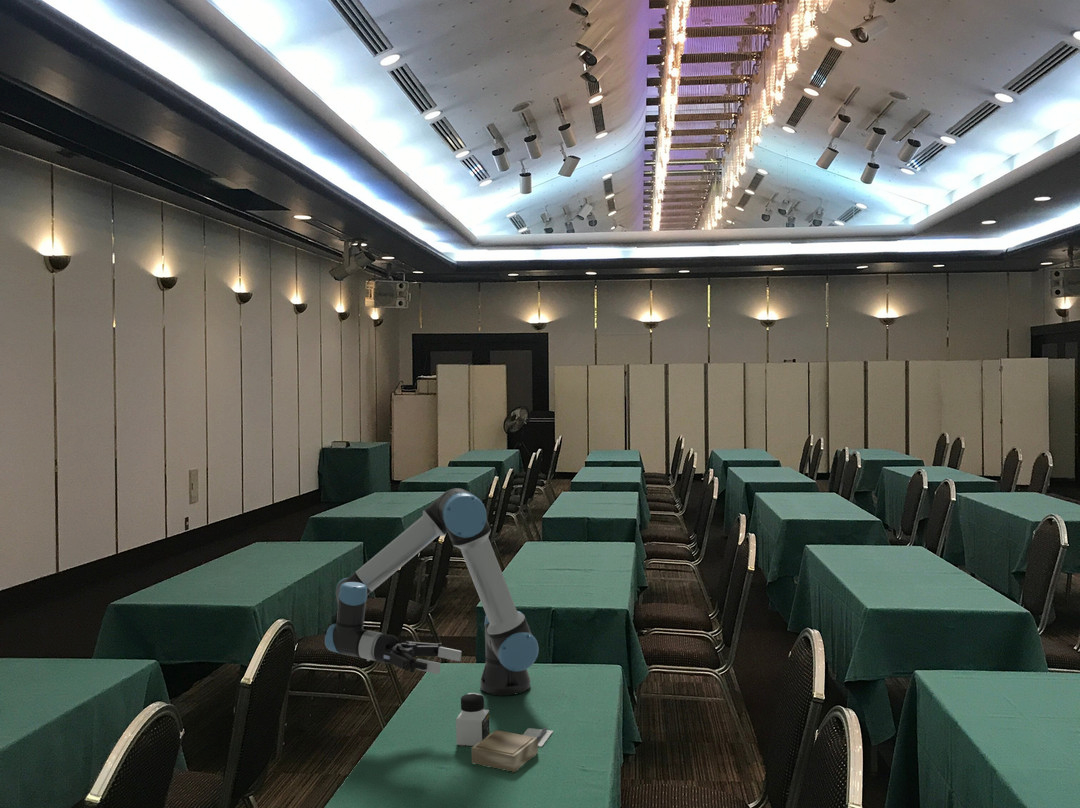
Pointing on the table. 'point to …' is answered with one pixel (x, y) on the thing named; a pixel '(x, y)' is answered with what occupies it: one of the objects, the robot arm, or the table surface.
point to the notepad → (539, 735)
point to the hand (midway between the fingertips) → (450, 662)
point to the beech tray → (504, 750)
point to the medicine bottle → (472, 720)
